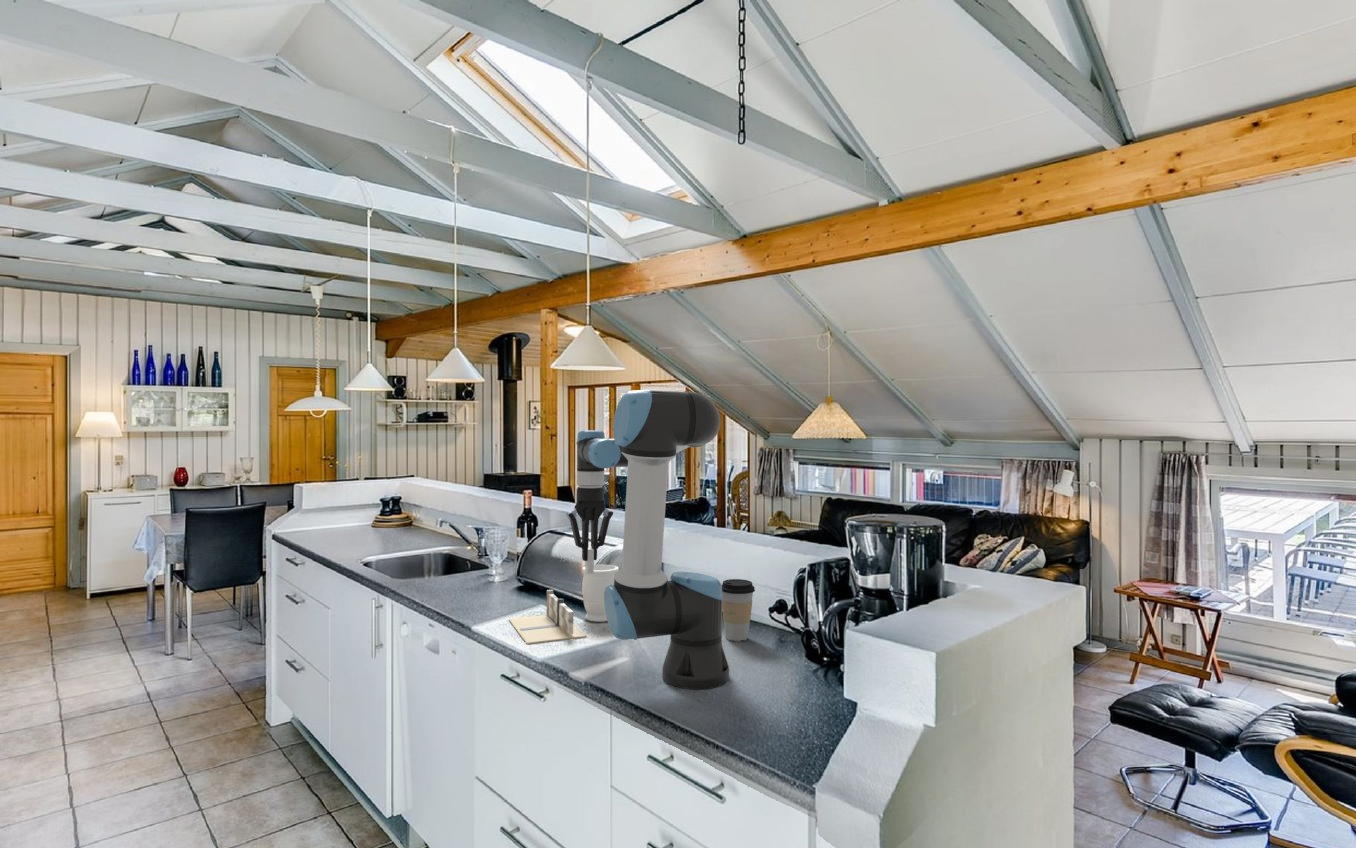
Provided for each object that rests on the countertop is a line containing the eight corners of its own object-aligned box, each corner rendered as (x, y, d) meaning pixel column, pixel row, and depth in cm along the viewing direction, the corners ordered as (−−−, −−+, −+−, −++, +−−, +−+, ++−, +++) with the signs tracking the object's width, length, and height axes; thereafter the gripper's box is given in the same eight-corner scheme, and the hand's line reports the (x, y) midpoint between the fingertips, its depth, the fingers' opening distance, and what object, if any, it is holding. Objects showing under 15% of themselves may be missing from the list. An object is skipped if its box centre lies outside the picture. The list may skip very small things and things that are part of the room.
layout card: (586, 637, 187) (586, 635, 187) (526, 644, 180) (526, 642, 180) (562, 614, 209) (562, 612, 209) (508, 620, 202) (508, 618, 202)
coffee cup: (713, 640, 186) (714, 583, 186) (727, 631, 194) (728, 577, 194) (746, 645, 181) (747, 587, 181) (759, 636, 190) (760, 581, 190)
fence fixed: (565, 626, 196) (565, 600, 196) (557, 627, 195) (557, 601, 195) (553, 613, 208) (553, 589, 208) (545, 614, 207) (545, 590, 207)
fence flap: (574, 634, 187) (574, 608, 187) (567, 634, 186) (567, 609, 186) (562, 622, 197) (562, 598, 197) (556, 623, 197) (556, 599, 197)
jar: (620, 614, 210) (621, 564, 210) (614, 624, 200) (615, 571, 200) (586, 613, 211) (586, 563, 211) (578, 622, 201) (578, 570, 201)
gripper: (608, 484, 198) (607, 568, 198) (563, 485, 193) (562, 571, 193) (617, 487, 191) (616, 573, 191) (570, 488, 186) (569, 577, 186)
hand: (589, 572), depth 192 cm, fingers closed
